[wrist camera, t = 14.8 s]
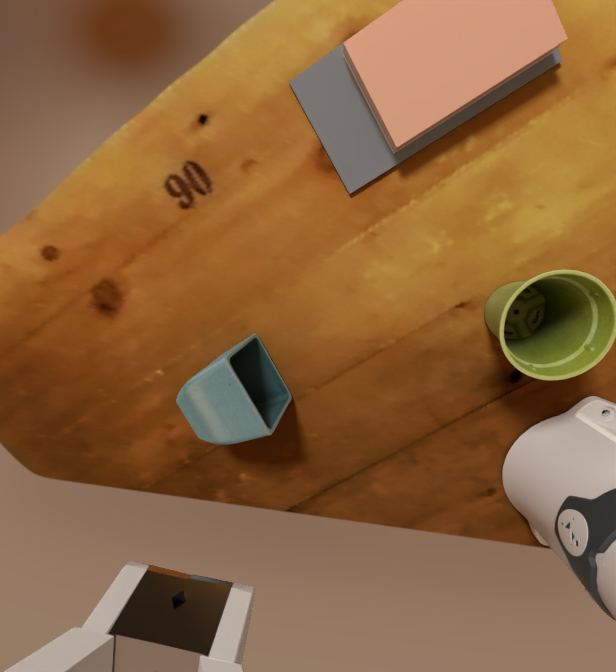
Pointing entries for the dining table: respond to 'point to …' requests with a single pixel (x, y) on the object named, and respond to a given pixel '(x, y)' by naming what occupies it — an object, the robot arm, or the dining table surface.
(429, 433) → the dining table surface
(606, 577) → the robot arm
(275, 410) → the flower pot
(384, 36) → the tile
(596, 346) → the plant pot
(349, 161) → the mat
